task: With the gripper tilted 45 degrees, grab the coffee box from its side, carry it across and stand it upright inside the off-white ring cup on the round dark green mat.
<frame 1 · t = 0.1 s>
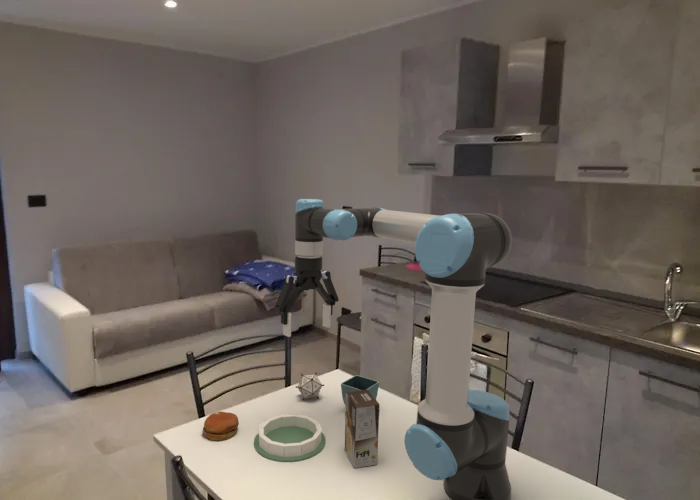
hand: (307, 331, 139), 28 cm above the table, tool pointing down, fingers open, 13 cm apart
burger: (220, 433, 138), on the table
game die: (309, 398, 161), on the table
flower pot: (359, 410, 153), on the table
coffee box: (360, 457, 128), on the table
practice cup: (290, 441, 134), on the table
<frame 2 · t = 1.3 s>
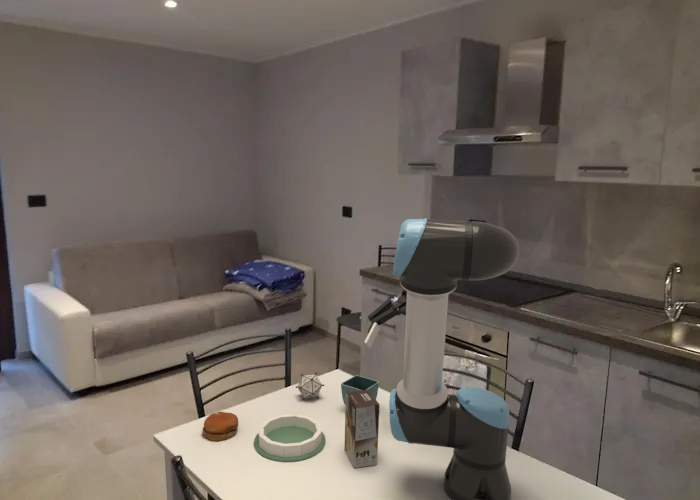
hand: (387, 351, 132), 26 cm above the table, tool tilted 45°, fingers open, 13 cm apart
nothing on the table moved.
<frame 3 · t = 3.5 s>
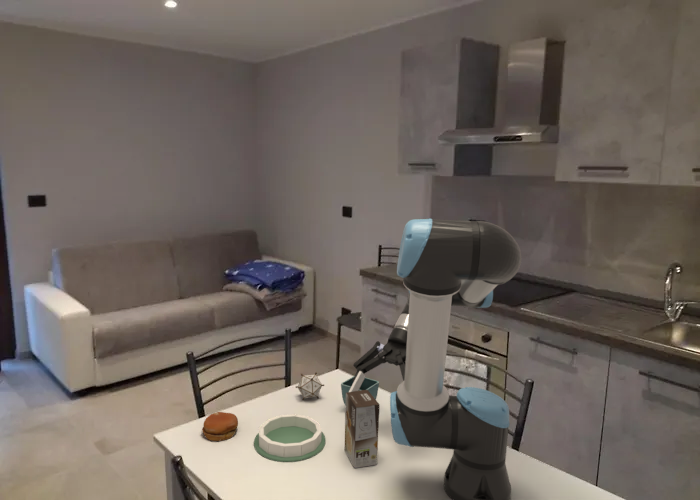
hand: (371, 402, 131), 13 cm above the table, tool tilted 45°, fingers open, 13 cm apart
nothing on the table moved.
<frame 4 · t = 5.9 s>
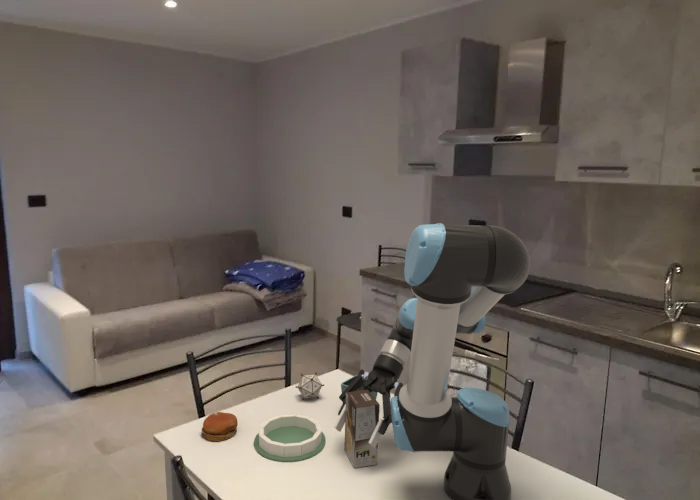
hand: (353, 437, 125), 7 cm above the table, tool tilted 45°, fingers closed on coffee box, 10 cm apart
coffee box: (360, 457, 128), on the table, touching gripper
everything else where it was.
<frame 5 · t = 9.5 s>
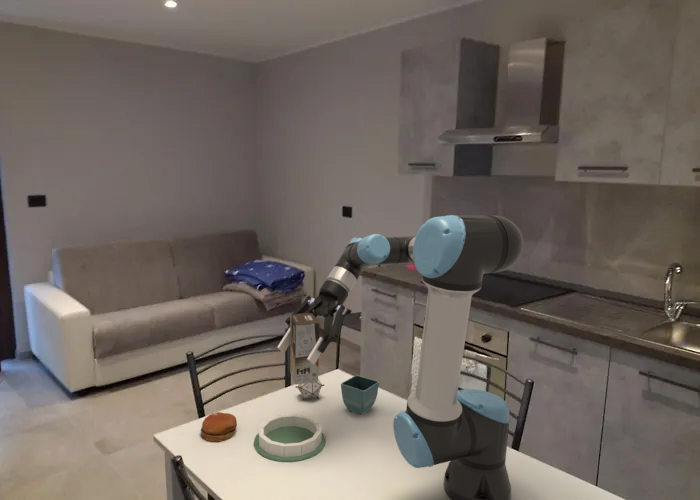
hand: (295, 355, 129), 25 cm above the table, tool tilted 45°, fingers closed on coffee box, 10 cm apart
coffee box: (303, 377, 133), point 18 cm above the table, touching gripper
everything else where it was.
when the fingers open (9 cm above the table, at t = 13.3 s): coffee box drops 2 cm, resting on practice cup.
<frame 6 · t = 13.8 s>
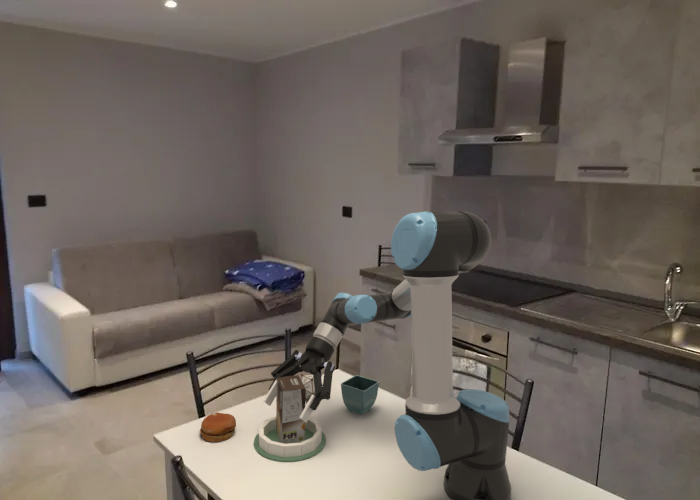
hand: (284, 411, 131), 9 cm above the table, tool tilted 45°, fingers open, 13 cm apart
coffee box: (289, 439, 134), resting on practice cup
everything else where it was.
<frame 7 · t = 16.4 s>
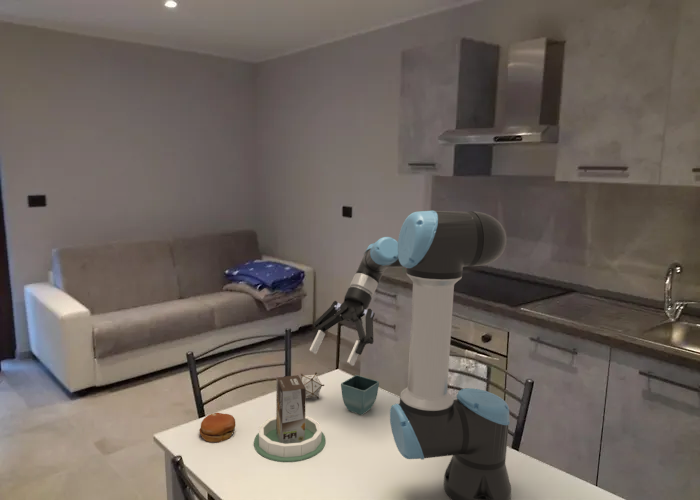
hand: (330, 358, 140), 21 cm above the table, tool tilted 40°, fingers open, 13 cm apart
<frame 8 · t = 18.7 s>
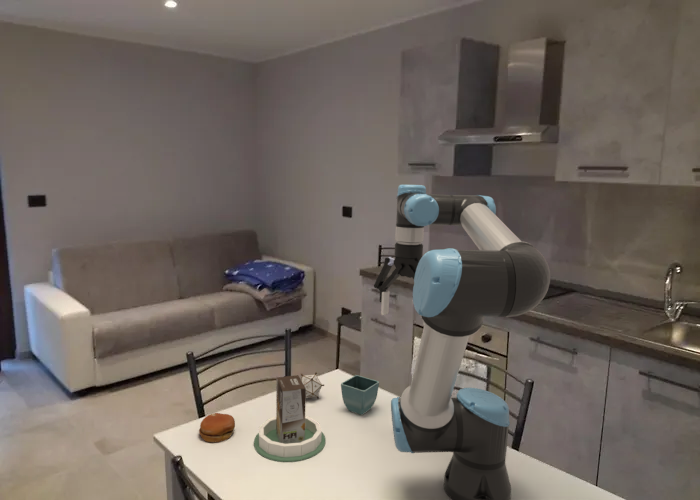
hand: (405, 319, 137), 33 cm above the table, tool pointing down, fingers open, 13 cm apart
at the end: coffee box inside the target area on the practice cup (0.4 cm from its centre), point 0.4 cm above the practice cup's base; coffee box tilted 0°; the gripper is holding nothing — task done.
